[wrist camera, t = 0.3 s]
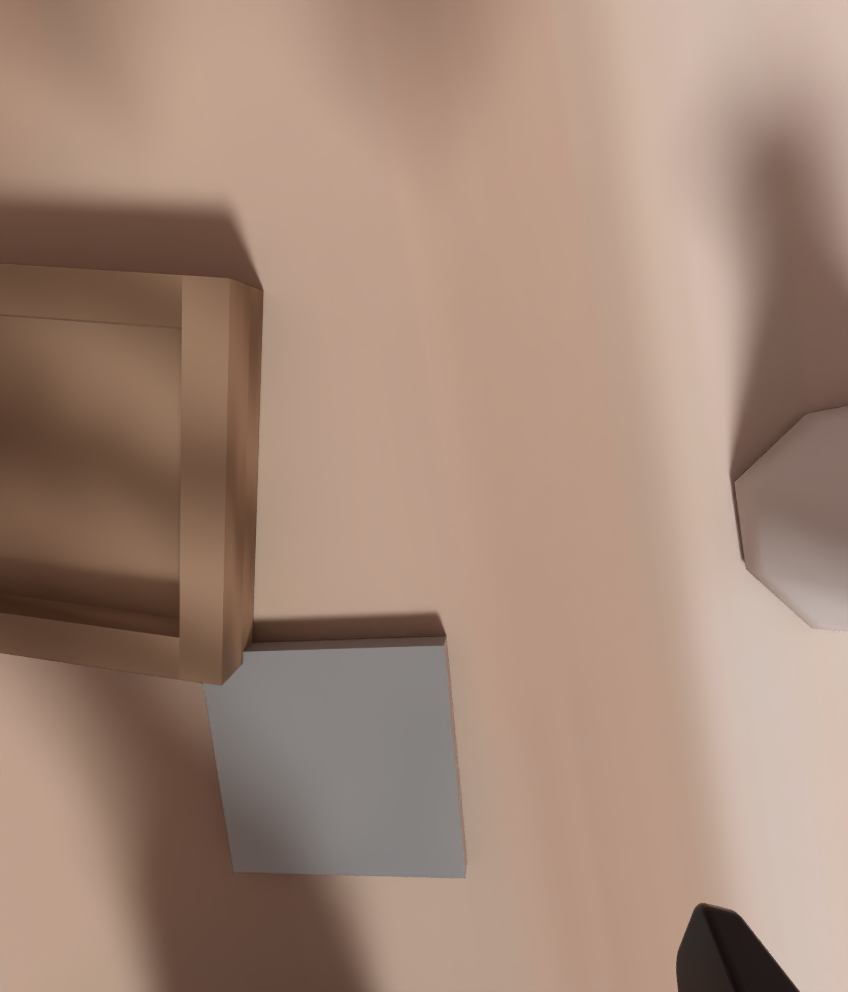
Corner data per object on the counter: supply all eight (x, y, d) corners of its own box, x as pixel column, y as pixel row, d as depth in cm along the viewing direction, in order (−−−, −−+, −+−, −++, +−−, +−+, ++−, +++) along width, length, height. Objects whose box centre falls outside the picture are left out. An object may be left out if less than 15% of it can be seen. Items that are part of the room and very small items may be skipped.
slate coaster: (466, 861, 23) (465, 878, 23) (242, 857, 25) (233, 872, 24) (446, 636, 22) (444, 645, 21) (208, 644, 23) (198, 653, 22)
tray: (252, 654, 23) (221, 685, 21) (-60, 610, 25) (-123, 634, 22) (263, 290, 21) (230, 278, 18) (-84, 267, 22) (-157, 252, 20)
